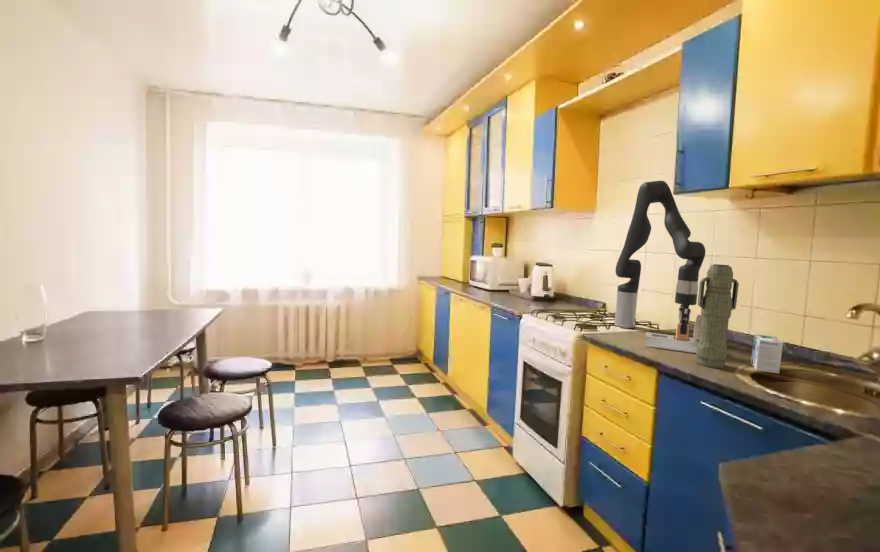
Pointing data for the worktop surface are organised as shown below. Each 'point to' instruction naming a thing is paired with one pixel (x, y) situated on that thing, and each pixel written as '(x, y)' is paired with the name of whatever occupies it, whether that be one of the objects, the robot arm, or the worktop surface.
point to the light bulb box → (766, 353)
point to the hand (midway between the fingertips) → (682, 332)
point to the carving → (697, 327)
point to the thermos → (715, 315)
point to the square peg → (681, 336)
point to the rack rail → (671, 342)
